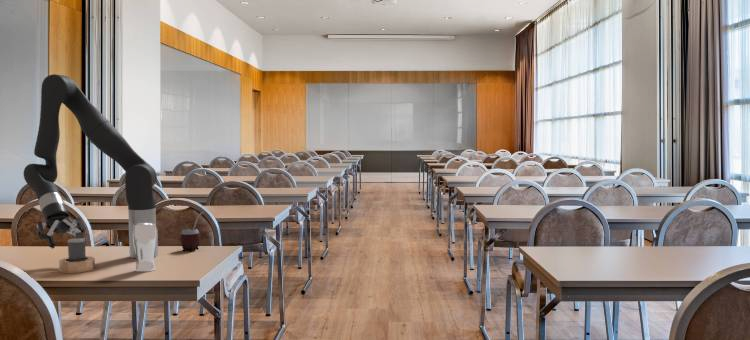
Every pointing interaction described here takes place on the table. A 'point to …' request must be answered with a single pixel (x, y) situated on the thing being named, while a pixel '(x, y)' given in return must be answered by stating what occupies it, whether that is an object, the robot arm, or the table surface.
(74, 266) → the wooden polygonal ring
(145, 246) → the beer glass
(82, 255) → the plug
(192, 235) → the mate gourd
